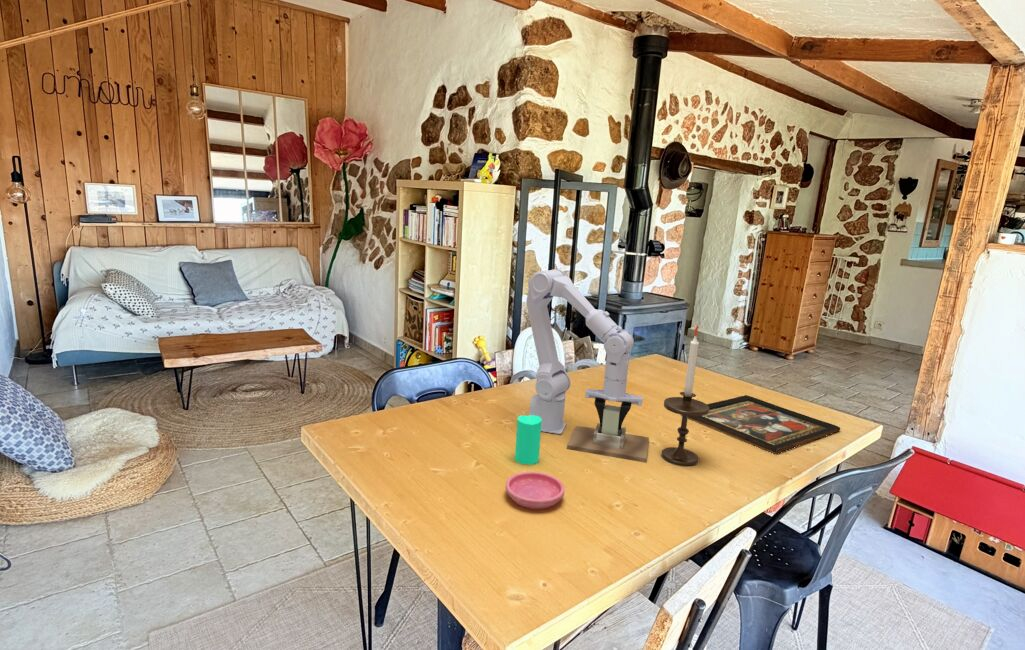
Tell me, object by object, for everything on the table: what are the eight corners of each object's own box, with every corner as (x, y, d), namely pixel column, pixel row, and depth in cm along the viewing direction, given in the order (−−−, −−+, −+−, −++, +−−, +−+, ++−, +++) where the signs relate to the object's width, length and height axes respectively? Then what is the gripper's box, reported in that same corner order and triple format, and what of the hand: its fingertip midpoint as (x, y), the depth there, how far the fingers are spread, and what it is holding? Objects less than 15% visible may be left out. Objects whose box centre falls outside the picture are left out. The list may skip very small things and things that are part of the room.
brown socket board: (566, 448, 143) (567, 434, 143) (575, 428, 157) (576, 415, 156) (646, 462, 138) (648, 447, 137) (648, 440, 152) (650, 427, 151)
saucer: (572, 510, 115) (573, 496, 114) (514, 517, 111) (515, 503, 110) (551, 481, 126) (552, 468, 125) (498, 486, 122) (498, 473, 122)
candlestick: (701, 471, 135) (720, 330, 128) (655, 462, 139) (672, 324, 131) (702, 454, 145) (721, 322, 138) (659, 445, 149) (675, 317, 141)
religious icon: (791, 462, 144) (793, 451, 144) (673, 420, 170) (674, 411, 169) (844, 431, 169) (845, 422, 169) (734, 398, 195) (735, 390, 194)
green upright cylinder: (542, 456, 138) (545, 411, 135) (535, 467, 132) (538, 419, 130) (519, 452, 140) (521, 406, 137) (511, 462, 134) (514, 415, 132)
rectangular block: (600, 438, 145) (603, 409, 144) (602, 432, 149) (605, 404, 147) (616, 441, 144) (619, 412, 143) (617, 435, 148) (620, 406, 146)
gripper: (585, 378, 142) (580, 428, 145) (643, 386, 138) (637, 437, 141) (589, 370, 148) (584, 418, 151) (645, 378, 145) (639, 427, 147)
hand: (610, 427), depth 146 cm, fingers closed on rectangular block, 4 cm apart
